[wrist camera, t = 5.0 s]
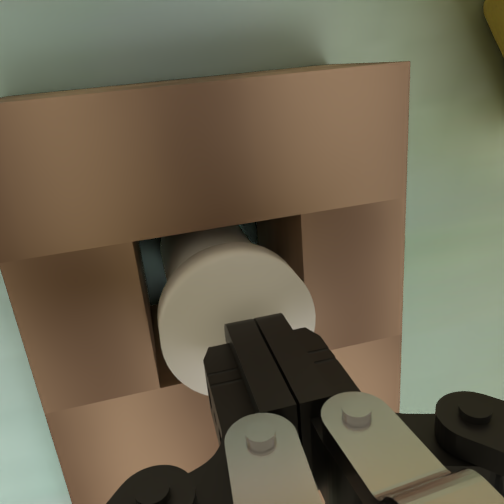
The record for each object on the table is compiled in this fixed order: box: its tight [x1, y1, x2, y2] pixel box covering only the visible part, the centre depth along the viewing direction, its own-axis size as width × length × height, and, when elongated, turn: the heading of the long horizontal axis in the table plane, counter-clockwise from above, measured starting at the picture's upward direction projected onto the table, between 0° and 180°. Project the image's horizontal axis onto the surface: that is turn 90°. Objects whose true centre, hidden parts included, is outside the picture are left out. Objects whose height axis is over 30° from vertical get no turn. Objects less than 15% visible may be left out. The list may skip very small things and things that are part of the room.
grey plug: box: [157, 225, 316, 396], centre depth 17 cm, size 4×4×7 cm
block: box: [0, 61, 410, 504], centre depth 20 cm, size 12×26×6 cm, turn 5°
